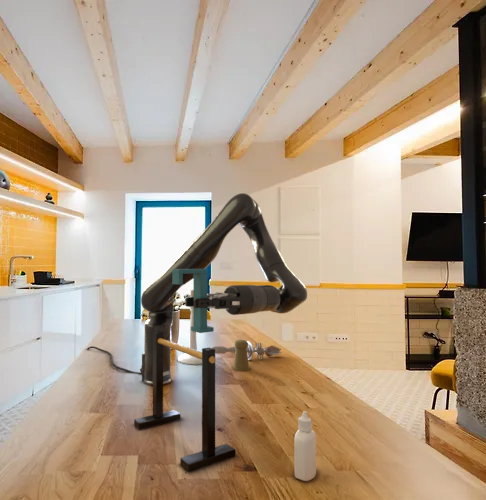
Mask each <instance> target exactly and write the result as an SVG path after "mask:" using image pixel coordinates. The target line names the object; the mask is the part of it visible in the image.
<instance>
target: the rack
mask: <svg viewBox="0 0 486 500" xmlns="http://www.w3.org/2000/svg"><path fill="white" fill-rule="evenodd" d="M163 345H165V346H167V347H170V348H171V349H173V350H175V351H178V352H180V353H183V354H188V355H191V356H194V357H196V358H199V359H202V364H201V451H198V452H194V453H192V454H188V455H185V456H182V457H180V459H179V461H180V464H179V465H180V467H182V468H183V469H184V470H185V471H186V472H188V473H191V472H193V471H197V470H200V469H203V468H205V467H208V466H211V465H214V464H217V463H220V462H223V461H226V460H229V459H232V458H235V457H236V454H237V453H236V452H237V451H236V448H235V447H234V446H232V445H230V444H228V443H224V444H221V445H218V446H216V353H215V349H213V347H202V348H201V351H199V350H197V351H196V350H193V349H190V348H189V346H188V347H187V346H184V345H182V344H179V343H176V342H173V341H172V340H171V341H168V340H165V339H163V332H160V331H159V332H153V385H152V414H151V415H146V416H143V417H138V418H134V419H133V425H134V427H135V428H136V429H138V430H139V431H140V430H143V429H147V428H151V427H155V426H159V425H163V424H164V425H165V424H168V423H172V422H175V421H180V420H181V413H180V412H179V411H177V410H175V409H172V410H169V411H168V410H167V411H164V385H163Z"/></svg>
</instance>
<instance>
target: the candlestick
mask: <svg viewBox="0 0 486 500" xmlns="http://www.w3.org/2000/svg"><path fill="white" fill-rule="evenodd" d="M190 297H194V289H190ZM189 311H190V316H189V317H190V320H189V336H188V337H189V338H188V339H189V340H188V342H189V343H188V348H190V349H193V350H196V351H198V344H197V343H198V342H197V332H194V331H191V326H194V306H191V307H189ZM177 362H178V363H181V364H186V365H202V359H199V358H196V357H194V356H191V355H188V354H186V353H183V354H181V355H179V356H178V357H177Z"/></svg>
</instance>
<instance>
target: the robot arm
mask: <svg viewBox="0 0 486 500" xmlns="http://www.w3.org/2000/svg"><path fill="white" fill-rule="evenodd" d="M237 226H239V227H241V228H242V229H243V231H244V232H245V233H246V235H247V236H248V238H249V240H250V242H251V244H252V248H253V252H254V256H255V258H256V262H257V263H258V266H259V268H260V269H261V272H262V273H263V276H264V278H265V279H266V280H267V282H269V283H277V282H278V283H279V282H280V283H281V284H282V285H281V286H280V287H279V288H277V287H276V286H274V285H270V284H262V285H261V284H259V285H258V284H257V285H256V284H232V285H229V286H227V287H226V288H225V289H224V291H223V292H222V291H221V292H215V293H207V298H196V299H194V297H191V296H187V297H185V298H184V305H185V307H188V308H190V307H191V306H194V308H207V309H214V310H225V311H226V312H227V313H228V314H229V315H233V316H239V315H248V314H249V315H250V314H257V313H262V312H271V313H276V314H287V313H289V312H291V311H293V310H294V309H296V308H297V307H299V306H300V305H302V304H304V302H305V301H307V299H308V289H307V287H306V286H305V284H304V283H303V281H301V280H300V279H299V278H298V277H297V276H296V275H295V274H294V273H293V271H292V270H291V269H290V268H289V267H288V266H287V264H286V261H285V260H284V258H283V256H282V254H281V252H280V251H279V249H278V247H277V246H276V243H275V242H274V241H273V239H272V236H271V235H270V232H269V230H268V228H267V225H266V222H265V219H264V215H263V213H262V209H261V207H260V205H259V204H258V203H257V201H256V200H255V199H254V198H253V197H252V196H251V195H249V194H247V193H245V192H241V193H237V194H235V195H233V196H232V197H231V198H230V199H229V200H228V201H226V203H225V204H224V206H223V207H222V209H220V212H218V213H217V215H216V216H215V217H214V219H213V220H212V221H211V222H210V223H209V224H208V225H207V227H206V228H205V229H204V230H203V231H202V232H201V233H200V234H199V235H198V236H197V237H196V238H195V239H193V241H192V242H191V243H190V244H189V245H188V246H187V247H186V248H185V250H183V252H182V253H181V254H180V255H178V257H177V258H176V259H175V260H174V261H173V263H172V264H171V265H170V266H169V267H168V268H167V269H166V271H165V272H164V273H163V274H162V275H161V276H159V277H158V278H157V279H156V280H155V281H154V282H152V283H151V284H150V285H148V287H146V288H145V289H144V290H143V292H142V295H141V298H140V304H141V307H142V309H144V311H145V312H147V313H148V316H147V319H146V321H145V323H144V330H143V331H144V339H143V341H144V351H143V353H141V368H139V371H140V372H137V371H132V370H129V369H128V368H124V367H122V366H121V367H120V366H118V365H116V364H115V362H114V359H113V354H112V353H111V352H109V351H108V350H105V349H102V348H100V347H97V346H94V345H93V346H89V347H87V348H86V351H89V350H90V349H95V350H97V351H100V352H102V353H105V354H108V355H109V357H110V363H111V365H112V366H113V367H114V368H116V369H118V370H120V371H123V372H126V373H130V374H137V375H141V383H144V384H147V385H150V386H153V332H159V331H160V332H163V339H165V340H168V341H171V342H172V325H173V321H174V295H175V294H176V293H177V292H178V290H180V289H181V288H182V287H183V286H185V285H186V284H187V283H189V282H190V281H192V280H193V273H188V274H183V284H181V285H178V284H172V269H207V268H208V267H209V266H210V265H211V264H212V263H213V261H214V260H215V259H216V258H217V256H218V254H219V252H220V249H221V247H222V246H223V243H224V240H225V239H226V237H227V236H228V235H229V233H231V232H232V230H234V228H236V227H237ZM171 382H172V348H170V347H167V346H165V345H163V386H164V385H168V384H170V383H171Z"/></svg>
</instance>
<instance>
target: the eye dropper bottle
mask: <svg viewBox="0 0 486 500" xmlns="http://www.w3.org/2000/svg"><path fill="white" fill-rule="evenodd" d="M297 420H298V429H297V431H296V432H295V434H294V442H293V444H294V446H293V448H294V449H293V450H294V451H293V453H294V454H293V455H294V456H293V457H294V458H293V459H294V462H293V464H294V468H293V469H294V478H296V479H298V480H300V481H303V482H309V481H311V480H313V479H314V478H315V477H316V475H317V435H316V432H315V431H314V430H313V428H312V426H313V423H312V419H311V417H309V415H308V411H306V410H303V411H302V415H301V416H299V417H298V418H297Z"/></svg>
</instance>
